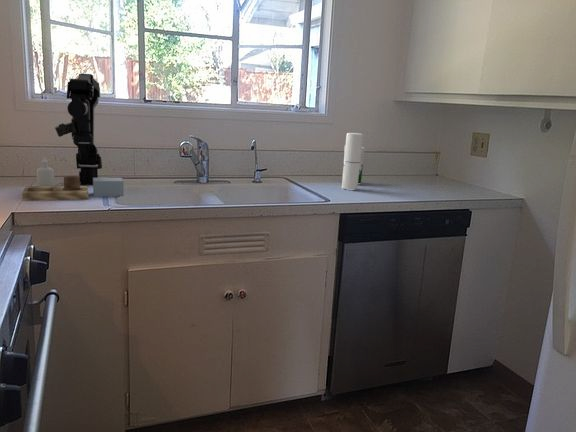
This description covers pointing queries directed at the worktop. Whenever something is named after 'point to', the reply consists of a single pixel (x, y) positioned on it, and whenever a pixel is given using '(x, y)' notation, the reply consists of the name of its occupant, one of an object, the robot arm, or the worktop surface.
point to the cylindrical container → (352, 160)
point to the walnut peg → (71, 183)
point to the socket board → (53, 193)
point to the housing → (108, 187)
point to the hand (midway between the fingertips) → (82, 159)
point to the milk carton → (360, 163)
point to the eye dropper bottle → (45, 174)
